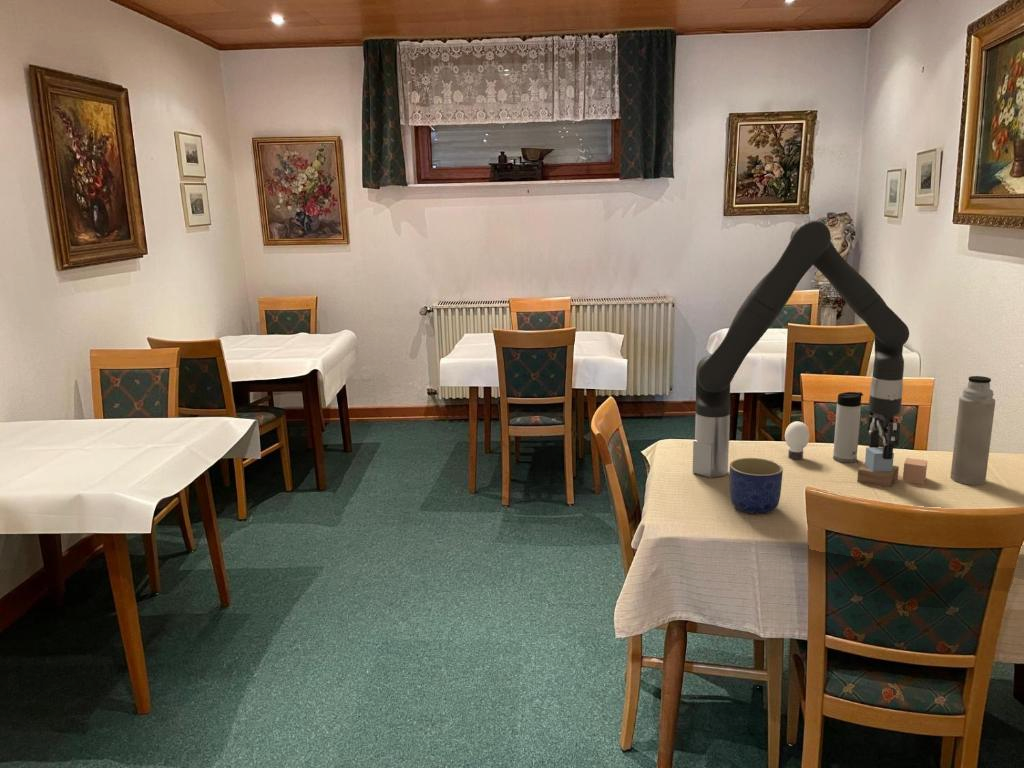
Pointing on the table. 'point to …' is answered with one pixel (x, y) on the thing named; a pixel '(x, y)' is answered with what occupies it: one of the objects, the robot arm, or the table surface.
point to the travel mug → (847, 427)
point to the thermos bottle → (973, 432)
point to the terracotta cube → (915, 470)
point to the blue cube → (877, 460)
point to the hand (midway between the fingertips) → (880, 453)
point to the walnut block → (878, 476)
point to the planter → (755, 485)
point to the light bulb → (796, 439)
